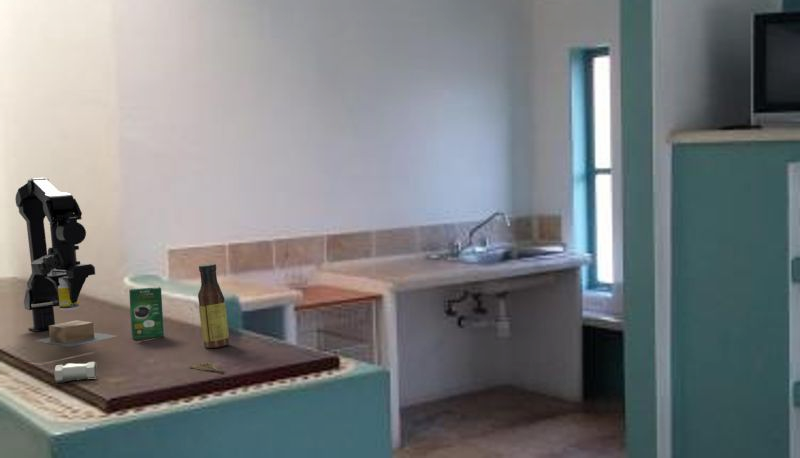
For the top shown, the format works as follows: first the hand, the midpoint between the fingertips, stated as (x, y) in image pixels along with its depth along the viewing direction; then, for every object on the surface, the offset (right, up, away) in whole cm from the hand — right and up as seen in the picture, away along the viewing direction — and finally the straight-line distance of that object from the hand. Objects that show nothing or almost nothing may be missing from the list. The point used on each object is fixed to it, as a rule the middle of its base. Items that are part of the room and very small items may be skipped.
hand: (68, 302), depth 240 cm
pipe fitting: (+18, -13, -44) cm, 49 cm away
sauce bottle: (+42, -9, -18) cm, 47 cm away
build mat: (+1, -10, +2) cm, 10 cm away
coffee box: (+22, -9, -2) cm, 24 cm away
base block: (+1, -10, +1) cm, 10 cm away
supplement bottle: (0, -2, 0) cm, 2 cm away
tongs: (+46, -12, -43) cm, 64 cm away
